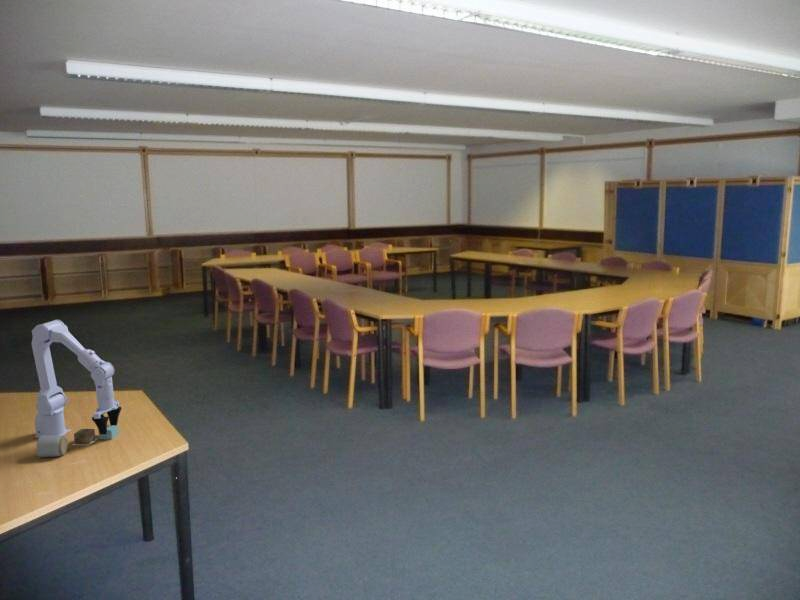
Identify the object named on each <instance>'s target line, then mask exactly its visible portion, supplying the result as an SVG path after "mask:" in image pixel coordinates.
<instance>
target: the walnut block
mask: <svg viewBox="0 0 800 600" xmlns="http://www.w3.org/2000/svg"><path fill="white" fill-rule="evenodd" d="M95 438H96V432H95V428H81V429H79V430H77V431H76V432H74V434H73V440H74V443H75V444H89V443H91V442H92V441H93V440H95Z"/></svg>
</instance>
